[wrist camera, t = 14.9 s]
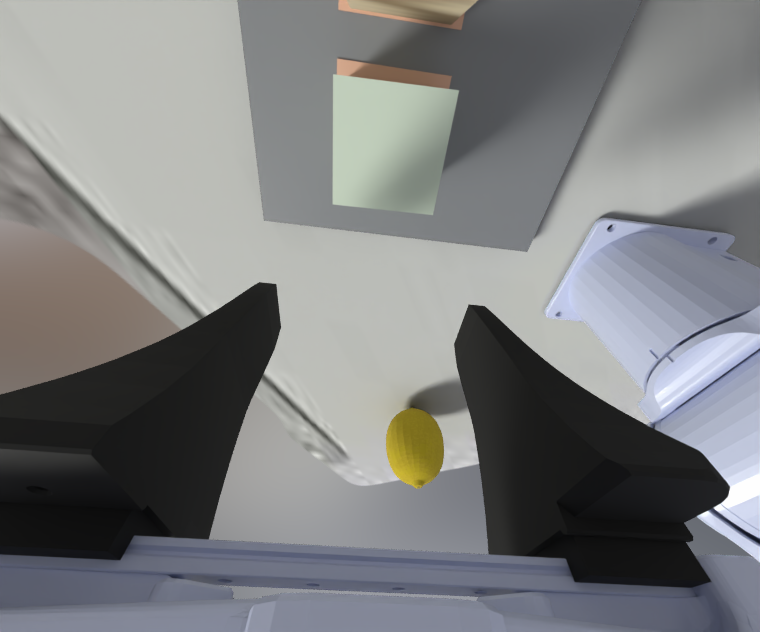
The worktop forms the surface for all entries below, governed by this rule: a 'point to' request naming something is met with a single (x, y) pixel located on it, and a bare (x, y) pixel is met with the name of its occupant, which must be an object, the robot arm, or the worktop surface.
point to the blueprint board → (442, 70)
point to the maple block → (417, 8)
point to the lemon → (415, 447)
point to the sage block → (389, 143)
